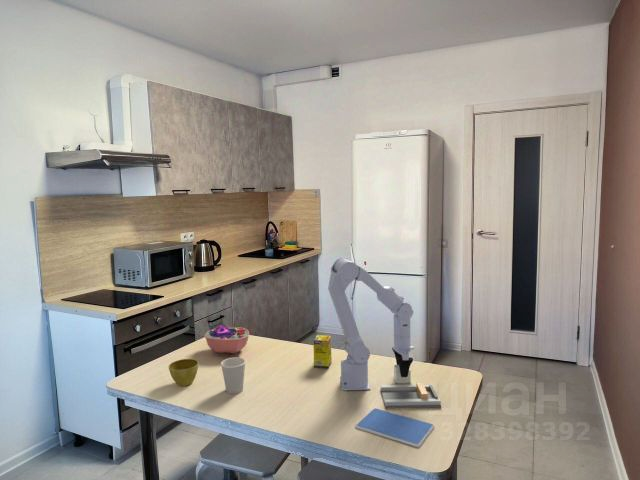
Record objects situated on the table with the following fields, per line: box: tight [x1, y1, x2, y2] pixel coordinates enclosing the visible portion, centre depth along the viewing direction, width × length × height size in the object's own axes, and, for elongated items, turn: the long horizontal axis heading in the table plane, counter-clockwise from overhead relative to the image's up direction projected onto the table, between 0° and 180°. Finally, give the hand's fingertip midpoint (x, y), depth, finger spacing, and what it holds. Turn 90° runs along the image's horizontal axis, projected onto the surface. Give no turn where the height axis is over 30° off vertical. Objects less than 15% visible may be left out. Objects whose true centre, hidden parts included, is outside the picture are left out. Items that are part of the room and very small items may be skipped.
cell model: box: [203, 324, 250, 354], centre depth 187 cm, size 17×20×11 cm
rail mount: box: [380, 383, 442, 409], centre depth 143 cm, size 17×13×2 cm
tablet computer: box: [354, 408, 435, 448], centre depth 126 cm, size 19×13×1 cm, turn 56°
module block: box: [393, 364, 412, 384], centre depth 157 cm, size 5×5×4 cm
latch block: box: [415, 382, 428, 399], centre depth 143 cm, size 2×8×2 cm, turn 179°
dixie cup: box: [220, 357, 247, 395], centre depth 151 cm, size 8×8×10 cm
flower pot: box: [168, 358, 199, 387], centre depth 158 cm, size 10×10×7 cm
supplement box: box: [312, 334, 333, 369], centre depth 171 cm, size 6×6×11 cm
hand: (402, 372), depth 157 cm, fingers open, 7 cm apart
